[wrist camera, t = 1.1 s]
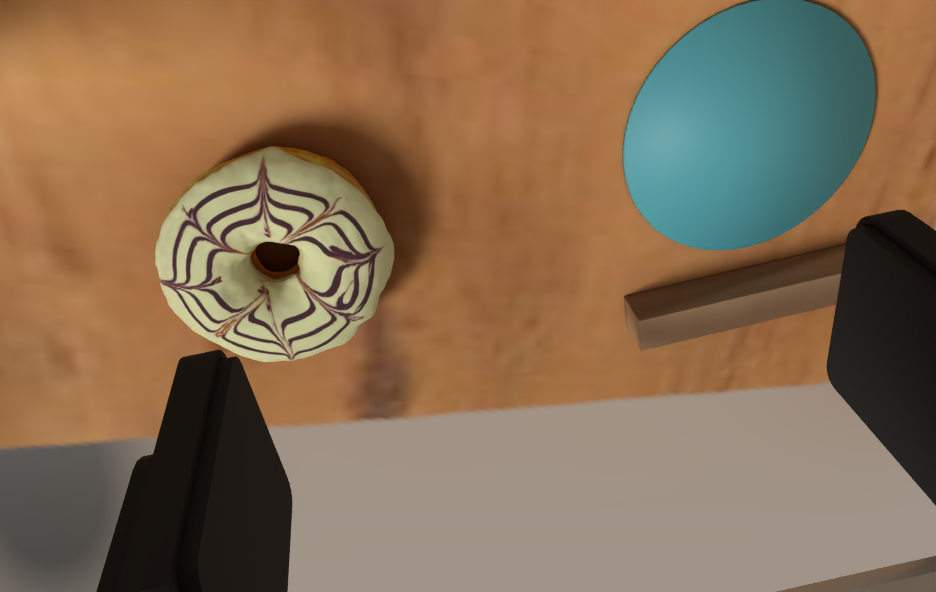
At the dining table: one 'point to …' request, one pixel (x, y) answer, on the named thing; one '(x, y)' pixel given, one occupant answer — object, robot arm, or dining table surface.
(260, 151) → the decorated donut
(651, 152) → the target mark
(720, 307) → the rail
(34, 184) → the dining table surface
